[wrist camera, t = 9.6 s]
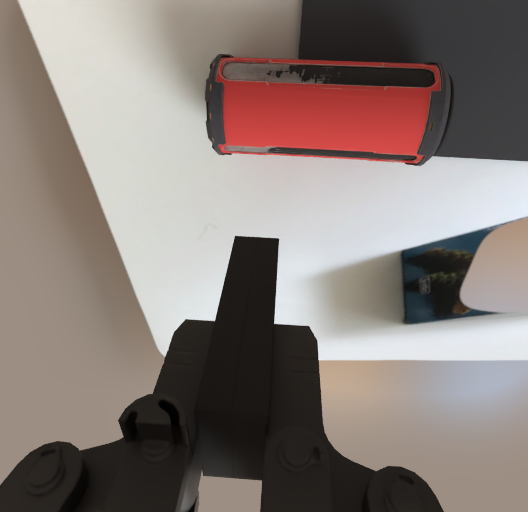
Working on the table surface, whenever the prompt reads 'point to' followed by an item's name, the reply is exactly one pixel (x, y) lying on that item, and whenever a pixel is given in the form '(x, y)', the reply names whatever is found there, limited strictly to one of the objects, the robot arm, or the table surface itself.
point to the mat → (440, 59)
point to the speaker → (328, 108)
